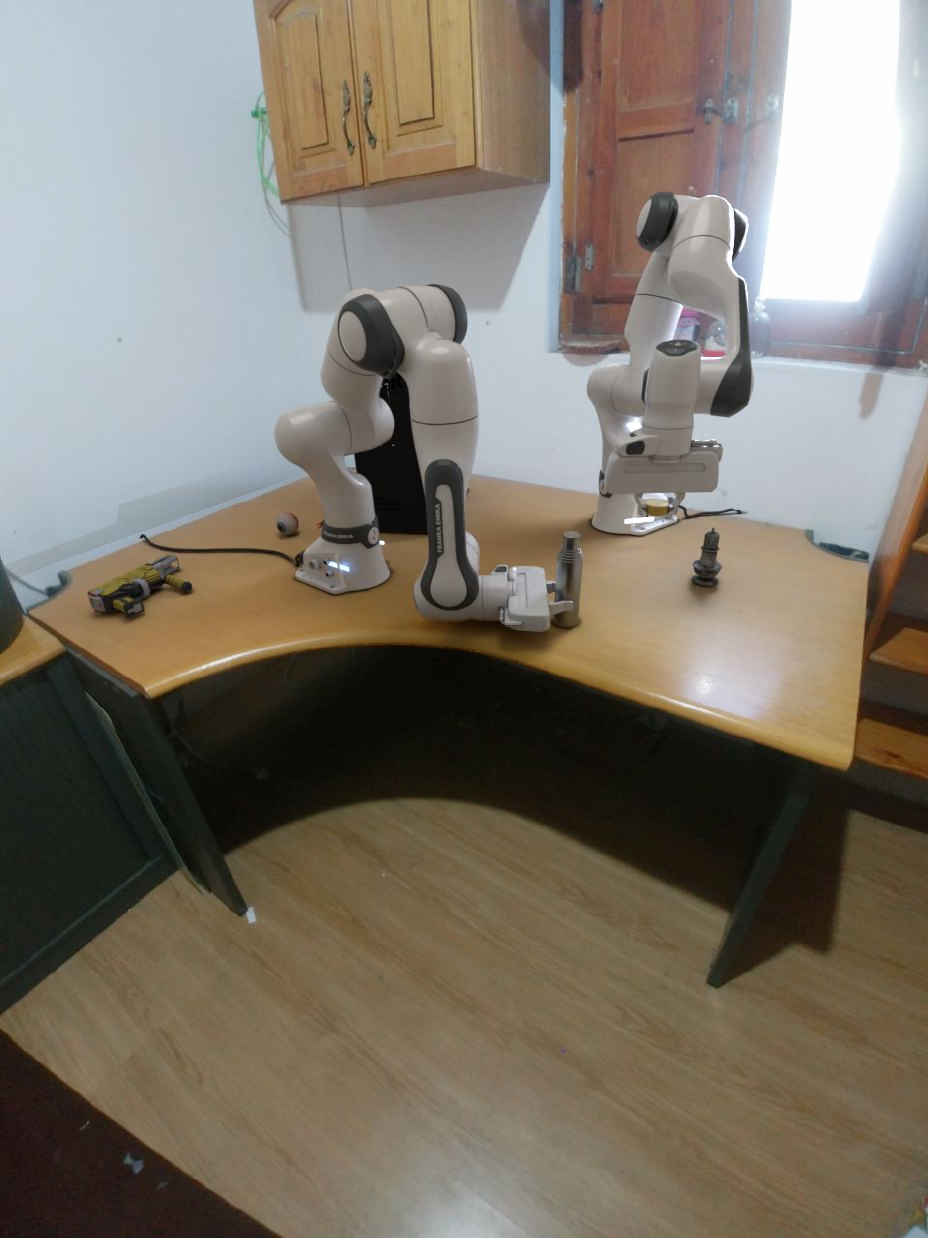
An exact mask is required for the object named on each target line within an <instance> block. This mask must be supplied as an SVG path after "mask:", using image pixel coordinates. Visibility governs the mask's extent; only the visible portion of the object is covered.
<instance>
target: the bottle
mask: <svg viewBox="0 0 928 1238" xmlns="http://www.w3.org/2000/svg"><path fill="white" fill-rule="evenodd" d="M581 538H582V536H581V533H579V532H578V531H576V530H575V531H574V530H568V531H565V532H563V533H562V545H561V546H560V548H559V550H558V552H557V555H556V565H555V579H554V580H555V581H554V582H555V592H554V598H553V601H554V602H555V603H556V602H560V601H563V599H572V600H573V604H574V605H573V610H572V611H563V612H560V613H557V614H555V615H552V622H553V623H554V625H556V626H558V627H560V628H572V627H575V626H577V625H578V624H579V616H580V615H579V613H580V603H581V602H580V601H581V592H582V591H581V590H582V579H583V566H584V554H583V551H582V549H581V548H582V547H581V546H580V543H581Z"/></svg>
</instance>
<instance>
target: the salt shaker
mask: <svg viewBox="0 0 928 1238" xmlns="http://www.w3.org/2000/svg"><path fill="white" fill-rule="evenodd" d="M719 543H720V533H719V532H717V531H716V528H715V527H712V528H711V530H709V531H706V532H705V533H704V537H703V543H702V545H701V547H700V549H701V553H700V558H699V559H696V560H694V561H692V566H693V571H694V575H692V577H691V581H692V582H693V583H694V584H697V585H699V586H705V587H709V586H710V587H711V586H715V585H717V584H718V583H719V579H718V578H717V577H716V576H718V574H719V573H720V572H721V570H722V569H723V565H722V563H720V562H719V561H717V557H718V552H719V551H720V547H719Z"/></svg>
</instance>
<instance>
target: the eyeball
mask: <svg viewBox="0 0 928 1238" xmlns="http://www.w3.org/2000/svg"><path fill="white" fill-rule="evenodd" d="M299 525H300V522H299V519H298V517H297V516H296V515H295V514H294V513H292V512H287V511H286V512H282V513H280V514H279V515H278V516H277V517H276V520H275V527H276V529H277V530H278V531H279V532H280V533H281V534H282V535H285V536H286V535H287V536H289V535H293V534H295V533H296V532H297V531H298V529H299Z"/></svg>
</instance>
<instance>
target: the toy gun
mask: <svg viewBox="0 0 928 1238" xmlns="http://www.w3.org/2000/svg"><path fill="white" fill-rule="evenodd" d="M175 562H176V563H177V566H176V565H173V563H175ZM180 569H181V566H180V561H179V557H178V556H177V555H176V554H172V555H171V553H167V554H166V555H164V556H161V557H159V558H157V559H155V560H153V561H151V562H148V563H147V562H146V563H145V564H142V565H140V566H138V567H136V568H134V569H132V570H130V571H127V572H126V573H123V574H122V575H119V576H117V577H115V578H113V579H111V580H108V581H107V582H104V583H103V584H100V585H98V586H96V587H94V588H92V589H90V590H88V591H87V592H86V593H87V597H88V601H89V605H90V608H91V609H92V610H94V612H95V613H99V614H101V613H112V612H116V611H121V612H123V613H124V616H125V617H124V618H125V619H127V620H129V619H131V618H134V617H135V616H138V615H140V614H143V613H145V607H144V602H143V599H145V598H147V597H149V596H150V595H151V591H154V590H156V589H159V588H162V587H163V586H164V585H165V584H166V585H167V586H170V587H172V588H174V589H177V590H179V591H182V592H183V593H186V594H187V593H189V592H191V591H192V590H193V584H192V582H190V581H188V580H184V579H181V578H179V577H178V576H174V575H173V573H174V572H176V571H177V570H180Z"/></svg>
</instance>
